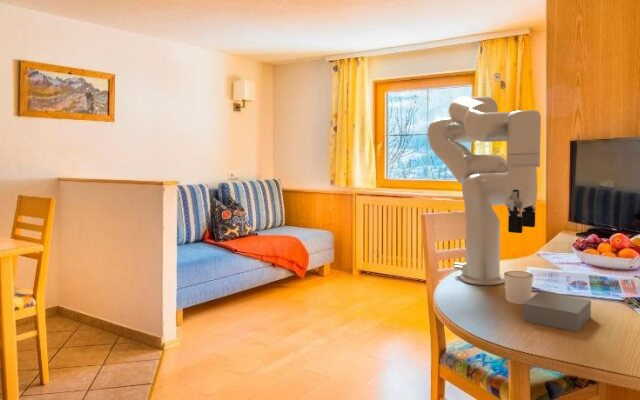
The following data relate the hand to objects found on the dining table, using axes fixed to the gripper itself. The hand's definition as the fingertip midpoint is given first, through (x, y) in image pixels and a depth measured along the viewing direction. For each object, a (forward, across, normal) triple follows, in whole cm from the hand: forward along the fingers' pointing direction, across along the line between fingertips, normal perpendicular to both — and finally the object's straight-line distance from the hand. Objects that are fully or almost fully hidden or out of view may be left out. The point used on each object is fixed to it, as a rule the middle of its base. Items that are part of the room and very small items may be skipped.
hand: (521, 229), depth 118 cm
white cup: (+19, +1, 0) cm, 19 cm away
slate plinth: (+18, +9, +11) cm, 23 cm away
